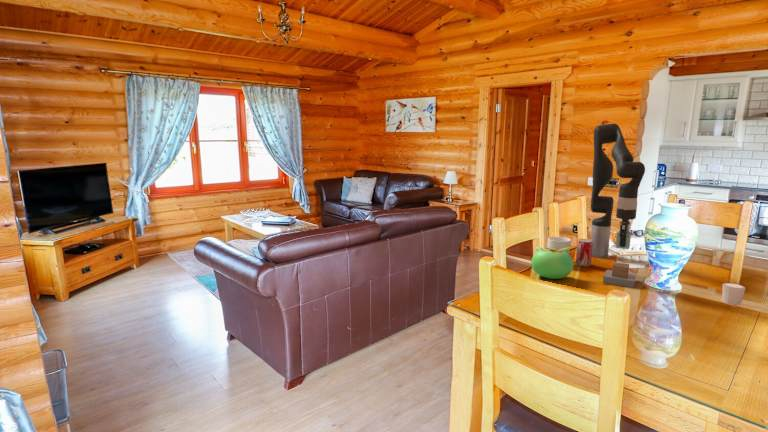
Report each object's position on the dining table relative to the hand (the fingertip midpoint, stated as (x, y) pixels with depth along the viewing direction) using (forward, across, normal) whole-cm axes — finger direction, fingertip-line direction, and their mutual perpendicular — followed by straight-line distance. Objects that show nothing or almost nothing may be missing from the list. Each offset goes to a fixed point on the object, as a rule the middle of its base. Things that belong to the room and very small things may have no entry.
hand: (622, 245), depth 186 cm
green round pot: (+17, +11, -27) cm, 34 cm away
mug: (+17, -16, -30) cm, 38 cm away
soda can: (+17, -19, -18) cm, 31 cm away
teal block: (+1, 0, 0) cm, 1 cm away
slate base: (+17, 0, 0) cm, 17 cm away
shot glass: (+17, +4, +39) cm, 43 cm away
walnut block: (+14, 0, 0) cm, 14 cm away
